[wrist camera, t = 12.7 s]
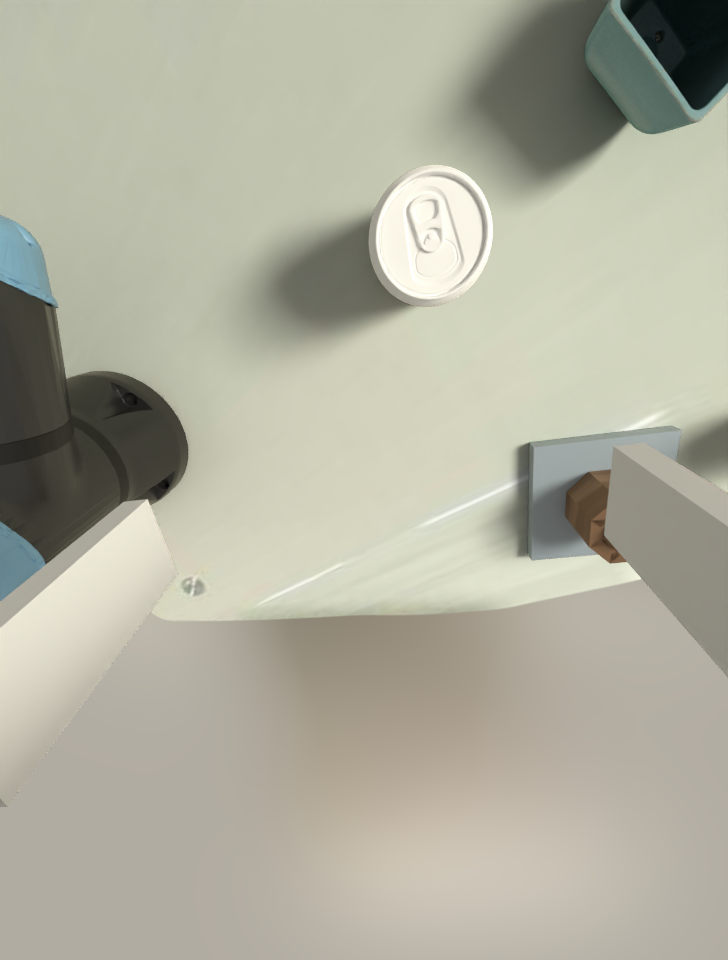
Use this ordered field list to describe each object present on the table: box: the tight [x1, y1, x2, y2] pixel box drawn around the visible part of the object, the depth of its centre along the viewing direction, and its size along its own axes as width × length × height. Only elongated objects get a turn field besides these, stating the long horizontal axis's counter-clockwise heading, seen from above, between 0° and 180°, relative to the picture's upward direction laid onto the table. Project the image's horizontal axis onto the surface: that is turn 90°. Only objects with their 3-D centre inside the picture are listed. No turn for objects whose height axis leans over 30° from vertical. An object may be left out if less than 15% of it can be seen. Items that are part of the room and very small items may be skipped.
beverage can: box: [369, 165, 493, 307], centre depth 31 cm, size 8×8×12 cm
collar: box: [565, 469, 627, 563], centre depth 42 cm, size 7×7×6 cm
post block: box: [528, 426, 681, 560], centre depth 42 cm, size 14×14×9 cm
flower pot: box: [584, 0, 728, 134], centre depth 27 cm, size 9×9×9 cm
